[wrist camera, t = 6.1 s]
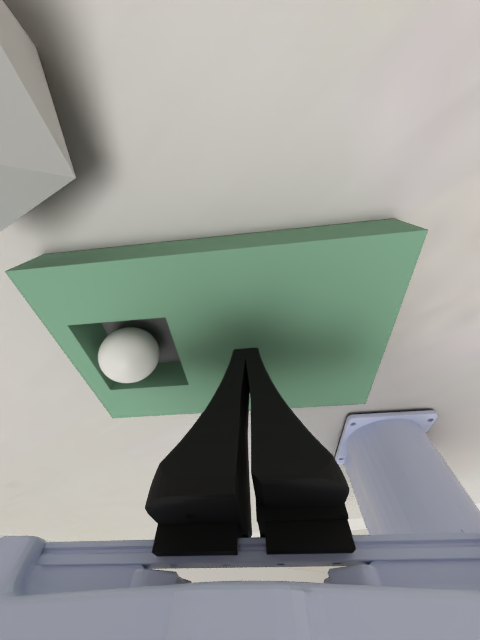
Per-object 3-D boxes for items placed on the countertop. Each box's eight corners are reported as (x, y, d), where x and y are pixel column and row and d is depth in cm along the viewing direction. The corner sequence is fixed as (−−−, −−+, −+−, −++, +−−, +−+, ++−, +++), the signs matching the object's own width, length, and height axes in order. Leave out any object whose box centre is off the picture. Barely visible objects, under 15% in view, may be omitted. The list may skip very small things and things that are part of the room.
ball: (167, 346, 17) (168, 383, 14) (120, 362, 16) (112, 402, 14) (147, 309, 15) (143, 344, 12) (93, 326, 14) (76, 365, 12)
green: (351, 376, 18) (365, 403, 16) (126, 391, 19) (112, 418, 17) (394, 218, 11) (428, 229, 9) (43, 254, 12) (4, 271, 10)
